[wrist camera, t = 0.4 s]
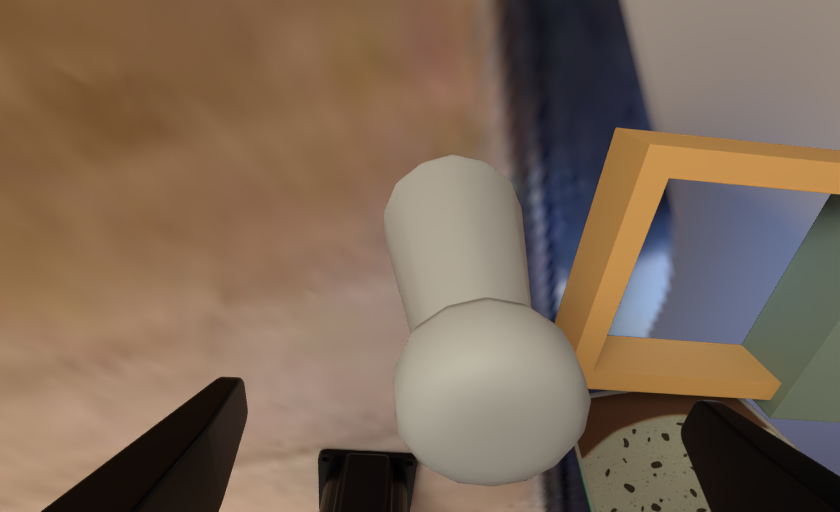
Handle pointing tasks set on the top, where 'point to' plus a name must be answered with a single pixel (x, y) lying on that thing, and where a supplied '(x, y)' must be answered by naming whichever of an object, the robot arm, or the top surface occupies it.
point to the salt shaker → (476, 332)
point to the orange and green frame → (776, 324)
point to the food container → (645, 451)
